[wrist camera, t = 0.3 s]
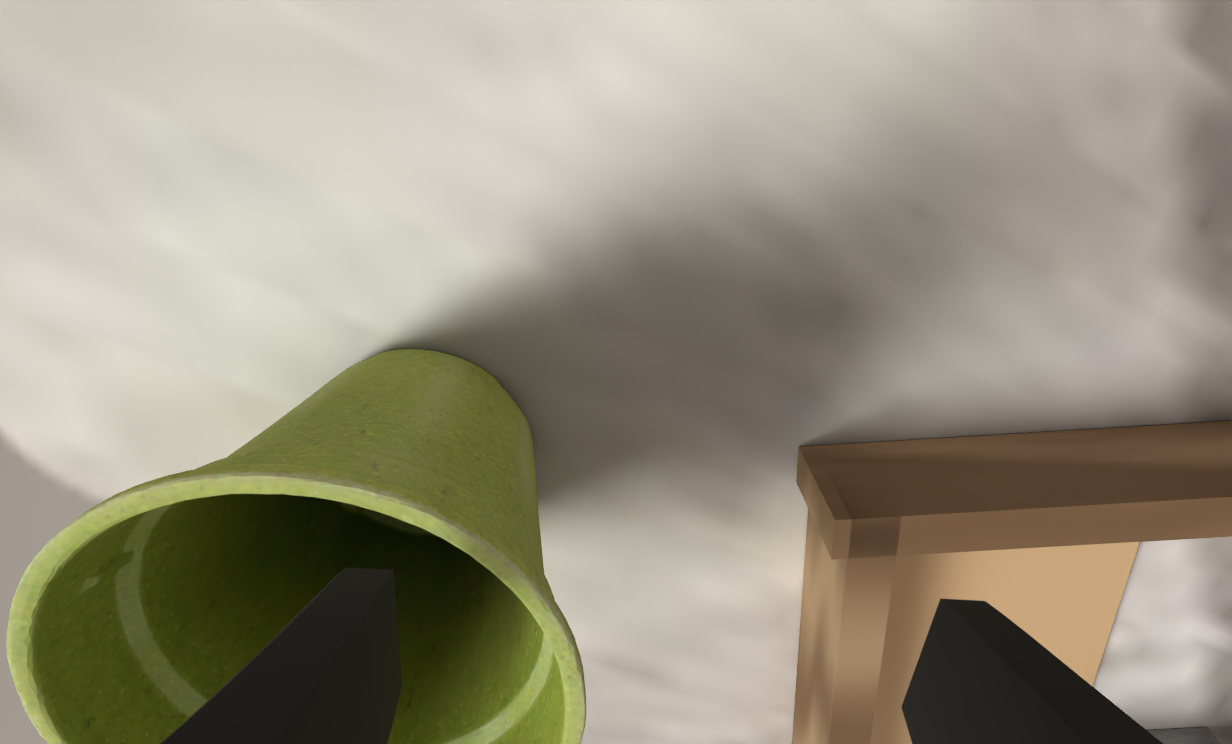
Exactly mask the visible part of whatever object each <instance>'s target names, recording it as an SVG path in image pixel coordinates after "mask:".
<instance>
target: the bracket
mask: <svg viewBox="0 0 1232 744" xmlns="http://www.w3.org/2000/svg"><path fill="white" fill-rule="evenodd" d="M1147 731H1148V732H1149V733H1150V734H1152V735H1153V736H1154V737H1155V738H1157V739H1158V740H1159V741H1160V742H1162V743H1163V744H1221V742H1220V741H1219V740H1218V739H1217V738H1216V737H1215V736H1214V735H1213V734H1212V733H1211V731H1210V730H1209V729H1208V728H1207V727H1197V728H1178V729H1159V730H1147Z"/></svg>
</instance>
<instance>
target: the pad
mask: <svg viewBox="0 0 1232 744" xmlns="http://www.w3.org/2000/svg"><path fill="white" fill-rule="evenodd" d="M1139 543H1140V542H1126V543H1108V544H1091V545H1074V546H1057V547H1040V548H1022V549H1005V550H988V551H971V552H954V553H936V554H919V555H902V556H896V562H895V569H894V576H893V583H892V590H891V598H890V605H889V612H888V619H887V626H886V633H885V640H884V647H883V654H882V662H881V669H880V676H879V683H878V690H877V697H876V704H875V711H874V719H873V726H872V733H871V740H870V744H912V741H911V738H910V735H909V731H908V728H907V724H906V721H905V718H904V714H903V711H902V708H901V707H902V704H903V701H904V698H905V695H906V693H907V690H908V687H909V684H910V682H911V679H912V676H913V673H914V670H915V668H916V665H917V662H918V659H919V657H920V654H921V651H922V648H923V645H924V643H925V640H926V637H927V634H928V632H929V629H930V626H931V623H932V620H933V618H934V615H935V612H936V609H937V607H938V604H939V601H940V599H958V600H977V601H986V602H987V603H989V604H990V605H991V606H993V607H994V608H995V609H997V610H998V611H999V612H1001V613H1002V614H1003V615H1005V616H1006V617H1007V618H1009V619H1010V620H1011V621H1012V622H1014V623H1015V624H1016V625H1017V626H1019V627H1020V628H1021V629H1022V630H1024V631H1025V632H1026V633H1027V634H1029V635H1030V636H1031V637H1032V638H1034V639H1035V640H1036V641H1037V642H1039V643H1040V644H1041V645H1042V646H1043V647H1045V648H1046V649H1047V650H1048V651H1050V652H1051V653H1052V654H1053V655H1055V656H1056V657H1057V658H1058V659H1059V660H1061V661H1062V662H1063V663H1064V664H1066V665H1067V666H1068V667H1069V668H1070V669H1072V670H1073V671H1074V672H1075V673H1076V674H1078V675H1079V676H1080V677H1081V678H1083V679H1084V680H1085V681H1086V682H1087V683H1089V684H1090V685H1091V686H1093V683H1094V680H1095V677H1096V674H1097V671H1098V668H1099V665H1100V662H1101V659H1102V656H1103V653H1104V649H1105V646H1106V643H1107V640H1108V637H1109V634H1110V631H1111V628H1112V625H1113V622H1114V619H1115V616H1116V613H1117V610H1118V607H1119V604H1120V601H1121V598H1122V595H1123V592H1124V589H1125V586H1126V583H1127V579H1128V576H1129V573H1130V570H1131V567H1132V564H1133V561H1134V558H1135V555H1136V552H1137V549H1138V546H1139Z"/></svg>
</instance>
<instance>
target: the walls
mask: <svg viewBox="0 0 1232 744" xmlns="http://www.w3.org/2000/svg"><path fill="white" fill-rule="evenodd" d="M797 484H798V486H799V488H800V491H801V493H802V495H803V497H804V500H805V502H806V504H807V506H808V520H807V535H806V549H805V564H804V579H803V593H802V608H801V622H800V637H799V651H798V666H797V681H796V695H795V710H794V724H793V739H792V744H870V740H871V733H872V726H873V719H874V711H875V704H876V697H877V690H878V683H879V676H880V669H881V662H882V654H883V647H884V640H885V633H886V626H887V619H888V612H889V605H890V598H891V590H892V583H893V576H894V569H895V562H896V556H902V555H919V554H936V553H954V552H971V551H988V550H1005V549H1022V548H1040V547H1057V546H1074V545H1091V544H1108V543H1126V542H1143V541H1160V540H1177V539H1195V538H1212V537H1229V536H1232V421H1216V422H1200V423H1184V424H1167V425H1151V426H1134V427H1118V428H1101V429H1085V430H1068V431H1052V432H1035V433H1019V434H1003V435H986V436H970V437H953V438H937V439H920V440H904V441H887V442H871V443H855V444H838V445H822V446H805V447H799V449H798V466H797Z"/></svg>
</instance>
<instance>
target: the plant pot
mask: <svg viewBox="0 0 1232 744" xmlns="http://www.w3.org/2000/svg"><path fill="white" fill-rule="evenodd" d="M345 568H364V569H383V570H394V582H395V596H396V609H397V622H398V635H399V649H400V662H401V675H402V687H401V691H400V696H399V700H398V704H397V708H396V712H395V716H394V720H393V724H392V728H391V732H390V736H389V739H388V743H387V744H581V741H582V737H583V733H584V728H585V720H586V692H585V683H584V673H583V666H582V662H581V658H580V654H579V651H578V648H577V645H576V641H575V638H574V635H573V633H572V631H571V629H570V627H569V625H568V623H567V621H566V619H565V617H564V615H563V613H562V612H561V610H560V608H559V606H558V605H557V603H556V602H555V600H554V596H553V594H552V591H551V588H550V586H549V584H548V581H547V579H546V577H545V575H544V568H543V558H542V547H541V537H540V526H539V515H538V503H537V490H536V469H535V458H534V448H533V439H532V434H531V430H530V426H529V424H528V421H527V419H526V417H525V416H524V414H523V413H522V411H521V410H520V409H519V407H518V406H517V405H516V403H515V402H514V401H513V399H512V398H511V397H510V396H509V394H508V393H507V392H506V391H505V390H504V389H503V387H502V386H501V385H500V384H499V383H498V381H497V380H496V379H495V378H494V377H493V376H492V375H490V374H489V373H488V372H486V371H485V370H483V369H482V368H480V367H478V366H477V365H475V364H473V363H471V362H469V361H466V360H464V359H461V358H459V357H456V356H453V355H449V354H446V353H442V352H437V351H431V350H421V349H401V350H393V351H387V352H383V353H379V354H377V355H374V356H372V357H370V358H367V359H365V360H363V361H361V362H359V363H357V364H355V365H353V366H351V367H349V368H347V369H346V370H345V371H343V372H342V373H340V374H339V375H338V376H336V377H335V378H334V379H332V380H331V381H330V382H328V383H327V384H326V385H324V386H323V387H322V388H320V389H319V390H318V391H317V392H315V393H314V394H313V395H311V396H310V397H309V398H307V399H306V400H305V401H303V402H302V403H301V404H299V405H298V406H297V407H295V408H294V409H293V410H291V411H290V412H289V413H287V414H286V415H285V416H283V417H282V418H281V419H280V420H278V421H277V422H276V423H274V424H273V425H271V426H270V427H269V428H267V429H266V430H264V431H263V432H262V433H260V434H259V435H258V436H256V437H255V438H253V439H252V440H251V441H249V442H248V443H247V444H245V445H244V446H242V447H241V448H239V449H238V450H237V451H235V452H234V453H232V454H231V455H230V456H228V457H227V458H224V459H221V460H218V461H215V462H212V463H209V464H207V465H205V466H202V467H200V468H197V469H195V470H190V471H185V472H181V473H177V474H173V475H168V476H165V477H162V478H158V479H155V480H152V481H149V482H145V483H143V484H140V485H137V486H134V487H132V488H130V489H127V490H125V491H123V492H120V493H118V494H116V495H114V496H112V497H110V498H109V499H107V500H105V501H103V502H101V503H100V504H98V505H96V506H94V507H93V508H91V509H90V510H88V511H87V512H85V513H84V514H83V515H81V516H80V517H79V518H77V519H76V520H74V521H73V522H72V523H70V524H69V525H68V526H67V527H65V528H64V529H63V530H61V531H60V532H59V533H58V534H57V535H56V536H54V537H53V538H52V539H51V540H50V541H49V542H48V543H47V544H46V545H45V546H44V547H43V548H42V549H41V551H40V552H39V553H38V554H37V555H36V556H35V557H34V559H33V560H32V562H31V563H30V565H29V566H28V568H27V569H26V571H25V573H24V575H23V577H22V579H21V581H20V583H19V585H18V587H17V590H16V592H15V595H14V598H13V601H12V605H11V609H10V615H9V622H8V629H7V657H8V662H9V666H10V670H11V674H12V677H13V680H14V683H15V685H16V690H17V692H18V694H19V696H20V698H21V700H22V705H23V707H24V709H25V711H26V713H27V715H28V717H29V718H30V720H31V721H32V723H33V725H34V726H35V728H36V729H37V731H38V733H39V735H40V736H42V737H43V738H44V739H45V740H46V741H47V742H48V744H160V743H161V742H162V741H163V740H164V739H165V738H167V737H168V736H169V735H170V734H171V733H172V732H173V731H175V730H176V729H177V728H178V727H179V726H180V725H181V724H183V723H184V722H185V721H186V720H187V719H188V718H189V717H190V716H191V715H193V714H194V713H195V712H196V711H197V710H198V709H199V708H200V707H201V706H202V705H204V704H205V703H206V702H207V701H208V700H209V699H210V698H211V697H212V696H213V695H214V694H215V693H216V692H217V691H218V690H219V689H221V688H222V687H223V686H224V685H225V684H226V683H227V682H228V681H229V680H230V679H231V678H232V677H233V676H234V675H235V674H236V673H238V672H239V671H240V670H241V669H242V668H243V667H244V666H245V665H246V664H247V663H248V662H249V661H250V660H251V659H252V658H253V657H254V656H256V655H257V654H258V653H259V652H260V651H261V650H262V649H263V648H264V647H265V646H266V645H267V644H268V643H269V642H270V641H271V640H272V639H273V638H274V637H275V636H276V635H277V634H278V633H279V632H280V631H281V630H282V629H283V628H284V627H285V626H286V625H287V624H288V623H289V622H290V621H291V620H292V619H293V618H294V617H295V616H296V615H297V614H298V613H299V612H300V611H301V610H302V609H303V608H304V607H305V606H306V605H307V604H308V603H309V602H310V601H311V600H312V599H313V598H314V597H315V596H316V595H317V594H318V593H319V592H320V591H321V590H322V589H323V588H324V587H325V586H326V585H327V584H328V583H329V582H330V581H331V580H332V579H333V578H334V577H335V576H336V575H337V574H338V573H340V572H341V571H342V570H343V569H345Z"/></svg>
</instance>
